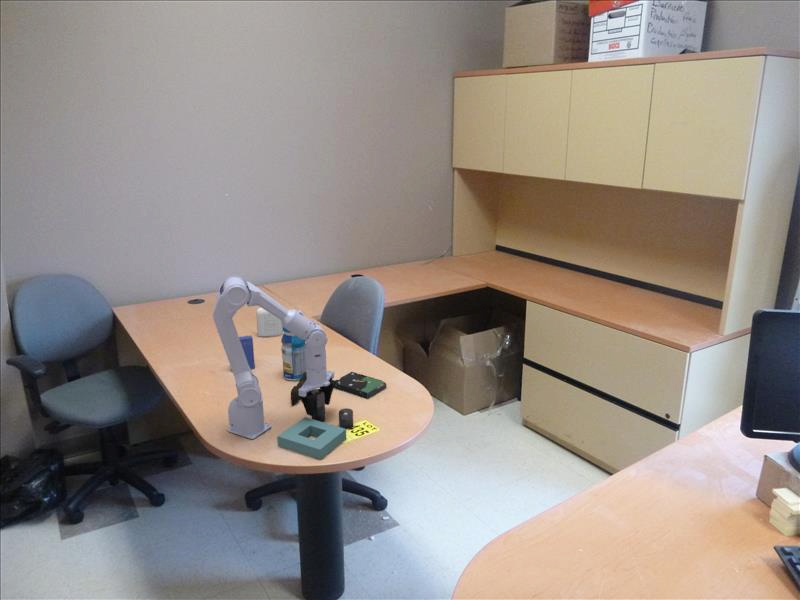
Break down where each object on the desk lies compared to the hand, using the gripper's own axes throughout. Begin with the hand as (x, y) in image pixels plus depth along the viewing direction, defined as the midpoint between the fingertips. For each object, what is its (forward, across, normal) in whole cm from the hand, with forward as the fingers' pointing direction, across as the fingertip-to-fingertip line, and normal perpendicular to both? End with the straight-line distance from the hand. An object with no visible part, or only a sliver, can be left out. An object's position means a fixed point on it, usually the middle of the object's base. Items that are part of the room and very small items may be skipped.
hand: (318, 409), depth 170 cm
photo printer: (+4, +48, +59) cm, 76 cm away
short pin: (+3, +1, -9) cm, 10 cm away
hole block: (+3, -11, -6) cm, 13 cm away
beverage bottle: (+4, +21, +25) cm, 33 cm away
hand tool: (+4, +12, +15) cm, 20 cm away
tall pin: (+3, 0, 0) cm, 3 cm away
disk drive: (+4, +24, +1) cm, 24 cm away
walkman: (+4, +17, +45) cm, 48 cm away
